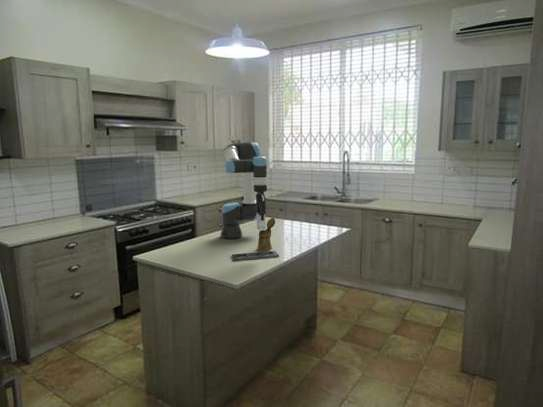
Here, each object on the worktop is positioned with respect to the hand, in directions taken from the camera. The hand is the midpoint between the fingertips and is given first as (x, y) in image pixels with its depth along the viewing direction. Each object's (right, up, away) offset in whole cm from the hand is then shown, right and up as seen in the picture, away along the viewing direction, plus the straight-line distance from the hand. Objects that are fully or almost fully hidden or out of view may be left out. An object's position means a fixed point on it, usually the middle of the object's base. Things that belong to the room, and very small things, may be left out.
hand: (261, 224), depth 223 cm
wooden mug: (+3, -16, +20) cm, 25 cm away
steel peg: (0, -2, 0) cm, 2 cm away
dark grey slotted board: (-3, -18, +2) cm, 19 cm away
